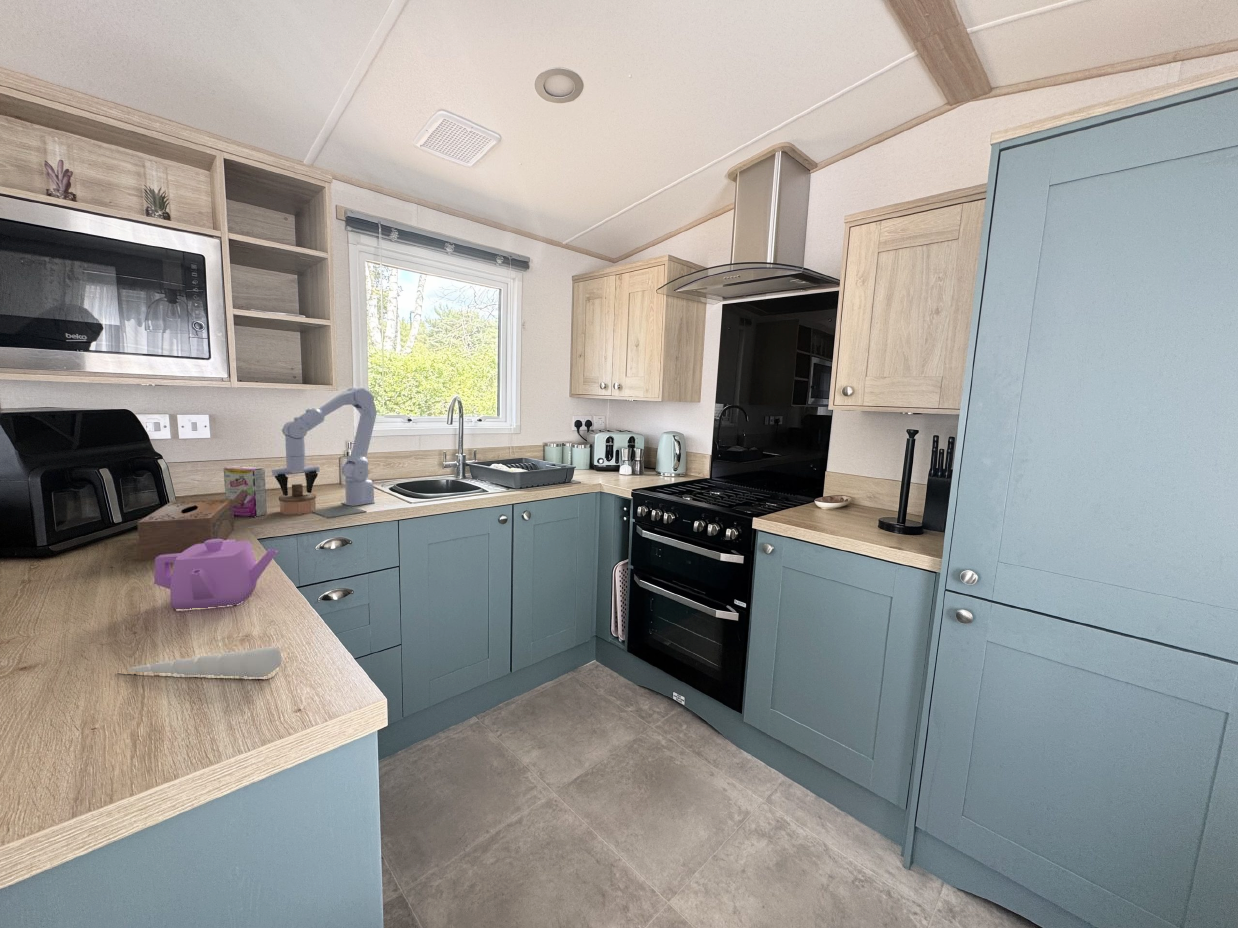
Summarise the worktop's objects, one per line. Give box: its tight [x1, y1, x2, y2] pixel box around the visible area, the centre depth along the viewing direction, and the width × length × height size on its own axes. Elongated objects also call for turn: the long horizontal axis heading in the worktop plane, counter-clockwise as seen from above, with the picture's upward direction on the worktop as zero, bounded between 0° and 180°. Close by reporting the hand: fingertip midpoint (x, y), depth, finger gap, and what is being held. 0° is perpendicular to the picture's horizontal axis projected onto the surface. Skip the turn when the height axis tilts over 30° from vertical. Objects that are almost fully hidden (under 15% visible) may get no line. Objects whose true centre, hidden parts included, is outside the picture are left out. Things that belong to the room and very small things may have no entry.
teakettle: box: [153, 539, 279, 610], centre depth 108 cm, size 17×17×12 cm
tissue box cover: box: [136, 498, 235, 562], centre depth 143 cm, size 26×14×10 cm, turn 26°
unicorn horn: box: [128, 646, 283, 677], centre depth 80 cm, size 5×24×5 cm, turn 88°
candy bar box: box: [223, 465, 268, 518], centre depth 175 cm, size 11×5×16 cm, turn 84°
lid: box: [278, 483, 317, 502], centre depth 183 cm, size 11×11×5 cm
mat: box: [311, 505, 367, 519], centre depth 185 cm, size 13×13×1 cm
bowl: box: [279, 498, 317, 515], centre depth 184 cm, size 10×10×4 cm
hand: (297, 493), depth 184 cm, fingers open, 7 cm apart
